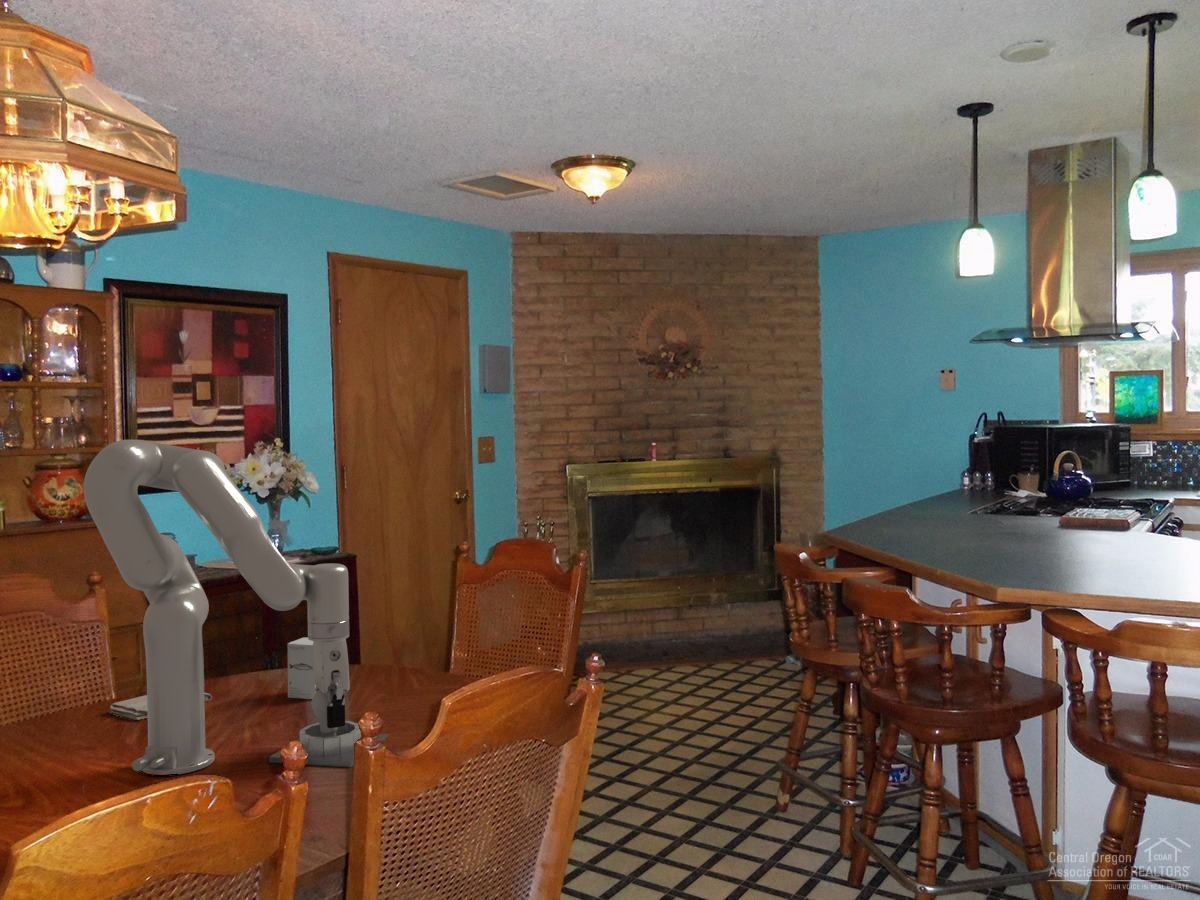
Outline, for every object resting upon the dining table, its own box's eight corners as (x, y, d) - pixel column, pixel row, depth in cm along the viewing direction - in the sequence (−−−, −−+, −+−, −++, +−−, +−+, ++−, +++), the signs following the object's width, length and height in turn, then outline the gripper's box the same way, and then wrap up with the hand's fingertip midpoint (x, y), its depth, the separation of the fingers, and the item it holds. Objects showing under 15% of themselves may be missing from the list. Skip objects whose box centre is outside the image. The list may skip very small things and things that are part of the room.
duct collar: (350, 767, 172) (350, 745, 172) (269, 762, 176) (269, 740, 176) (387, 739, 188) (387, 719, 188) (312, 735, 191) (312, 715, 191)
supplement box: (286, 698, 218) (285, 643, 218) (305, 690, 225) (304, 636, 225) (315, 700, 216) (314, 644, 216) (333, 692, 223) (332, 637, 223)
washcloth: (105, 716, 207) (105, 702, 207) (179, 696, 223) (179, 683, 223) (138, 724, 201) (138, 710, 201) (213, 703, 216) (212, 690, 216)
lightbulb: (311, 751, 178) (309, 691, 178) (313, 741, 184) (312, 684, 184) (345, 748, 180) (343, 689, 180) (346, 738, 186) (345, 681, 186)
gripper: (360, 635, 176) (361, 729, 176) (337, 620, 191) (339, 705, 191) (318, 640, 172) (319, 735, 172) (298, 624, 187) (300, 711, 188)
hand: (330, 720), depth 182 cm, fingers open, 9 cm apart
